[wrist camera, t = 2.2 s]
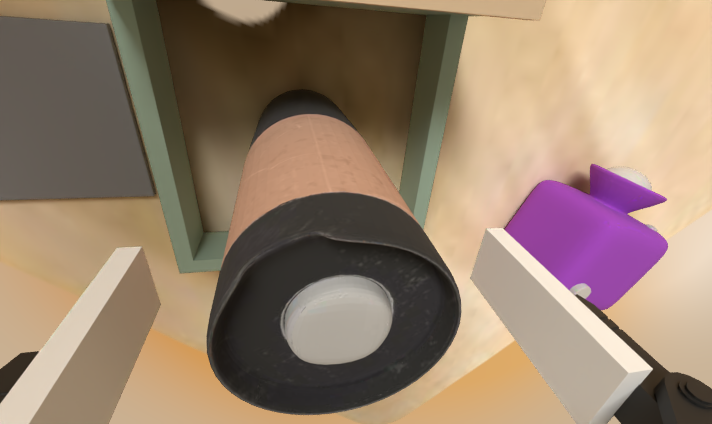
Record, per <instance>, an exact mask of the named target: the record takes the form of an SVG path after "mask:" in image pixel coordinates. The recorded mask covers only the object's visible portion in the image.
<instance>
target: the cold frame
mask: <svg viewBox="0 0 712 424" xmlns="http://www.w3.org/2000/svg"><path fill="white" fill-rule="evenodd" d="M266 1H277V2H288V3H299V4H310V5H320V6H331V7H342V8H353V9H364V10H375V11H386V12H397V13H407V14H418V15H427V16H426V22H425V29H424V35H423V42H422V48H421V55H420V61H419V68H418V74H417V81H416V87H415V93H414V100H413V106H412V113H411V119H410V126H409V132H408V139H407V145H406V152H405V158H404V165H403V171H402V177H401V184H400V190H399V194H400V195H401V197H402V198H403V200H404V201H405V203H406V204H407V206H408V207H409V209H410V211H411V212H412V214H413V215H414V217H415V218H416V220H417V221H418V223H419V224H420V226H421V227H422V229H424V224H425V219H426V214H427V210H428V205H429V200H430V196H431V191H432V186H433V181H434V177H435V172H436V167H437V162H438V158H439V153H440V148H441V143H442V139H443V134H444V129H445V124H446V120H447V115H448V110H449V105H450V101H451V96H452V91H453V87H454V82H455V77H456V72H457V68H458V63H459V58H460V53H461V49H462V44H463V39H464V34H465V30H466V25H467V20H468V16H490V17H501V18H511V19H522V20H540V19H541V16H542V12H543V9H544V6H545V3H546V0H266ZM106 2H107V6H108V10H109V13H110V17H111V21H112V24H113V28H114V32H115V36H116V39H117V43H118V47H119V50H120V54H121V58H122V61H123V65H124V69H125V72H126V76H127V80H128V84H129V87H130V91H131V95H132V98H133V102H134V106H135V109H136V113H137V117H138V120H139V124H140V128H141V132H142V135H143V139H144V143H145V146H146V150H147V154H148V157H149V161H150V165H151V168H152V172H153V176H154V180H155V183H156V187H157V191H158V194H159V198H160V202H161V205H162V209H163V213H164V217H165V220H166V224H167V228H168V231H169V235H170V239H171V242H172V246H173V250H174V253H175V257H176V261H177V265H178V268H179V272H180V273H193V272H206V271H220V270H221V265H222V261H223V256H224V252H225V248H226V243H227V239H228V234H229V231H223V232H203V227H202V222H201V218H200V213H199V208H198V203H197V198H196V193H195V188H194V183H193V178H192V174H191V169H190V164H189V159H188V154H187V149H186V144H185V139H184V134H183V130H182V125H181V120H180V115H179V110H178V105H177V100H176V95H175V91H174V86H173V81H172V76H171V71H170V66H169V61H168V56H167V51H166V47H165V42H164V37H163V32H162V27H161V22H160V17H159V12H158V8H157V3H156V0H106Z"/></svg>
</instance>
